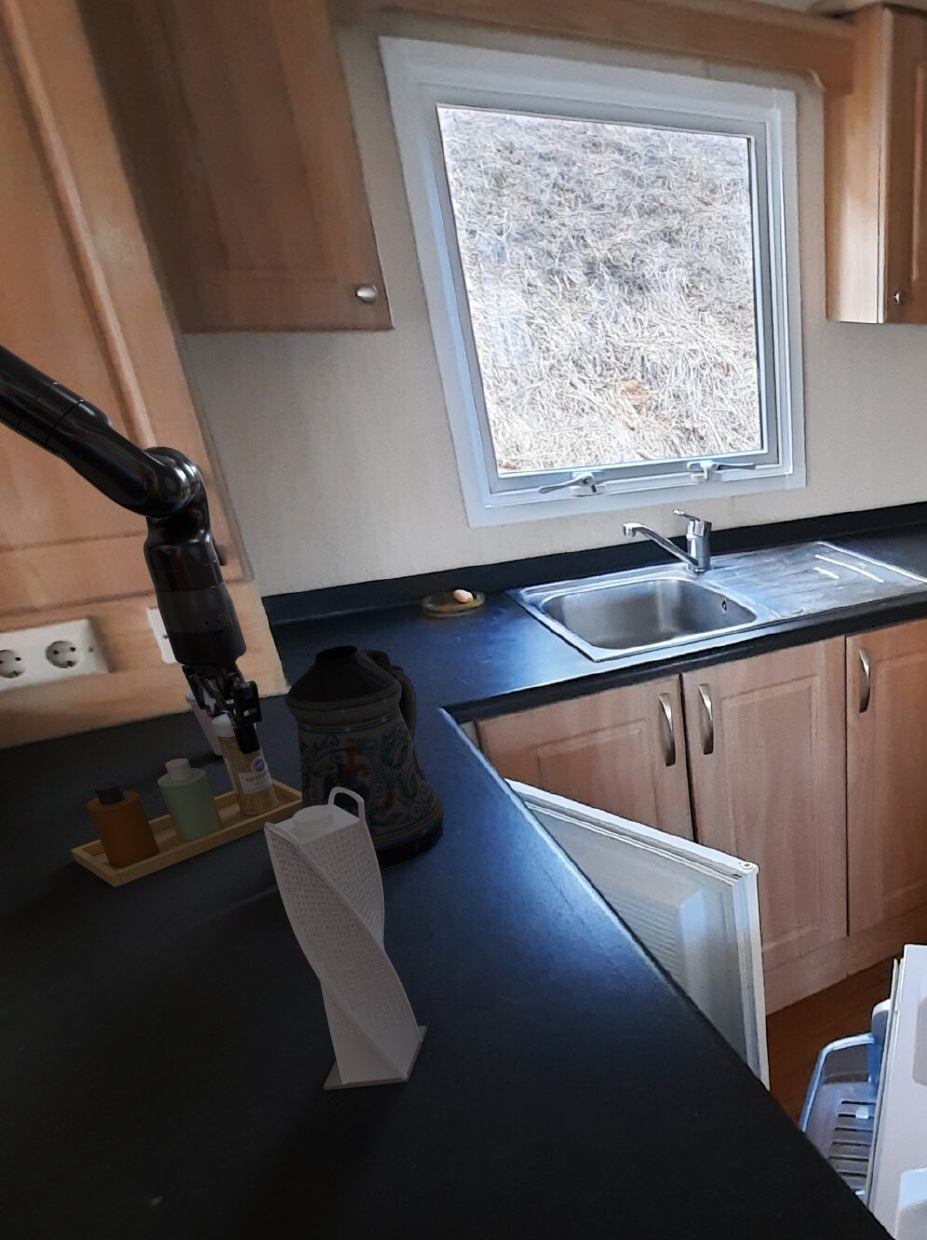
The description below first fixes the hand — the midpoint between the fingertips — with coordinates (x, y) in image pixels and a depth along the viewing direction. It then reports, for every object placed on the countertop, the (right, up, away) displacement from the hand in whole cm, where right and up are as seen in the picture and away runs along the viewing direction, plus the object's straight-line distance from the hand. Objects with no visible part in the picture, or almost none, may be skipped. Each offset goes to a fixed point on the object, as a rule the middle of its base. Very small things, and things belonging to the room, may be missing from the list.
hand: (240, 746), depth 127 cm
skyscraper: (+38, -30, -37) cm, 61 cm away
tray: (-4, -12, -1) cm, 12 cm away
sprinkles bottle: (0, -9, +4) cm, 10 cm away
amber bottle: (-8, -14, -7) cm, 18 cm away
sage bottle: (-4, -11, -1) cm, 12 cm away
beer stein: (+18, -12, 0) cm, 21 cm away
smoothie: (-16, 0, +22) cm, 27 cm away
